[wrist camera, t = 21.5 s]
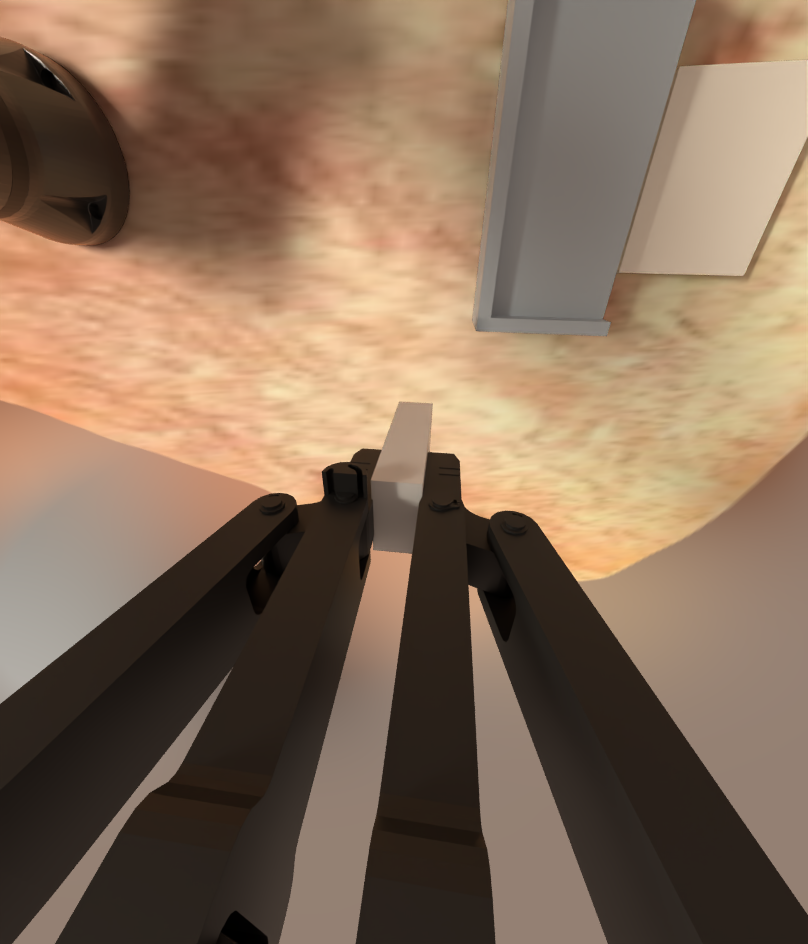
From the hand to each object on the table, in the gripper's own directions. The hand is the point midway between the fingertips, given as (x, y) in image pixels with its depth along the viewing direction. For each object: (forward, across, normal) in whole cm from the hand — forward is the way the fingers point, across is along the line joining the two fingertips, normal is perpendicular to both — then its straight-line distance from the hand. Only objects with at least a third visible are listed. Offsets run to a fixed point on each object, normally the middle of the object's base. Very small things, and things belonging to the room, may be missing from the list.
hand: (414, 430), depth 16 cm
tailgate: (+28, +18, +13) cm, 36 cm away
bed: (+28, +10, +13) cm, 33 cm away
